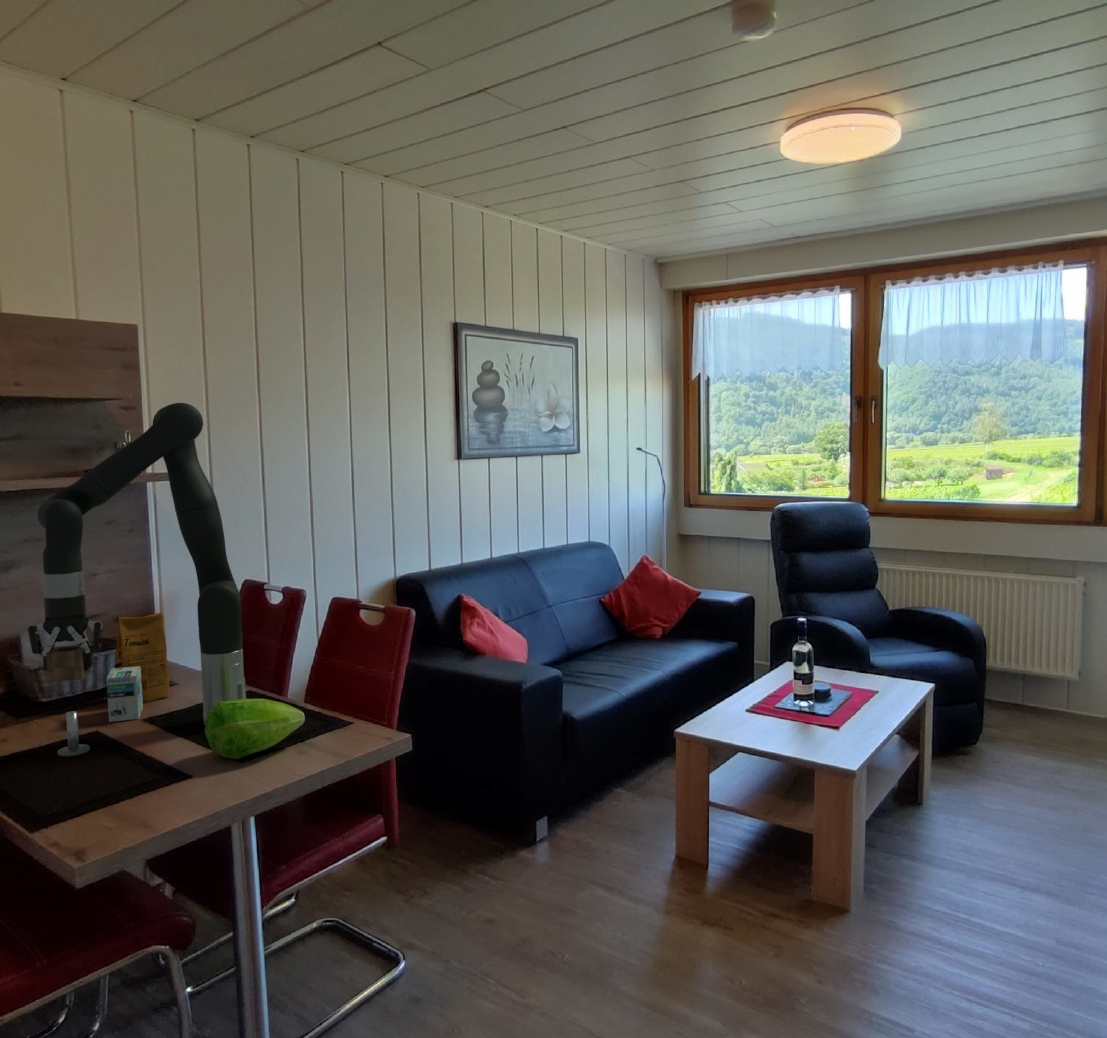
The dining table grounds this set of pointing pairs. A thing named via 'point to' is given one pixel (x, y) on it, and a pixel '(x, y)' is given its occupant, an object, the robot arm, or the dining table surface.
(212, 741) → the lettuce
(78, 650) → the collar
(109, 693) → the light bulb box
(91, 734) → the dining table surface
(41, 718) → the dining table surface
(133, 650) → the coffee package
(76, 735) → the post
